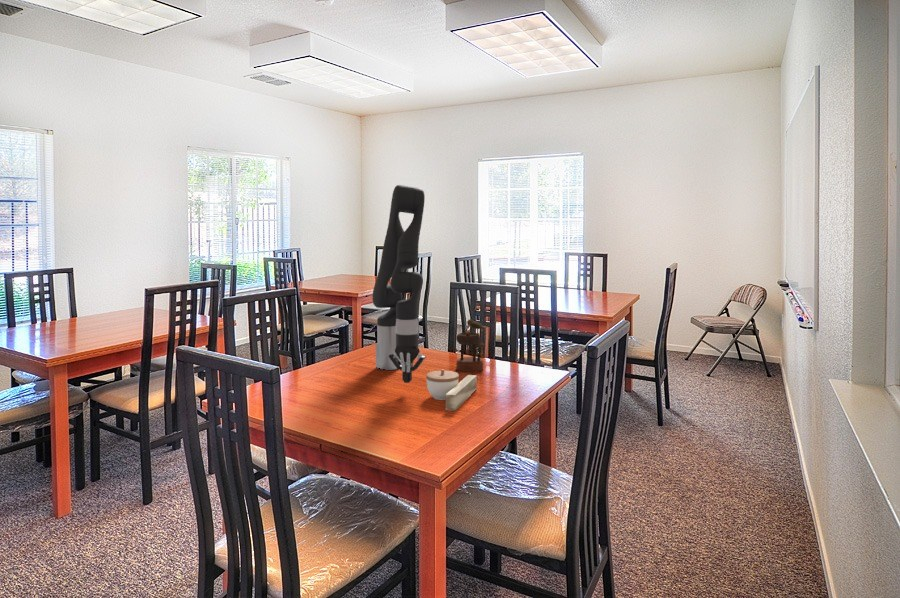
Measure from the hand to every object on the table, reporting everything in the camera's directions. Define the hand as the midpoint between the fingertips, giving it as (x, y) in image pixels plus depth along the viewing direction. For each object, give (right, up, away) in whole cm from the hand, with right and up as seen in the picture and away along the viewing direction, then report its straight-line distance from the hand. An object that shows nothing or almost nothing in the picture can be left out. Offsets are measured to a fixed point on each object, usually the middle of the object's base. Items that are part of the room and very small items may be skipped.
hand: (407, 382), depth 194 cm
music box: (+21, 0, +33) cm, 39 cm away
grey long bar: (+18, -5, -6) cm, 20 cm away
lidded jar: (+12, -5, -4) cm, 13 cm away
